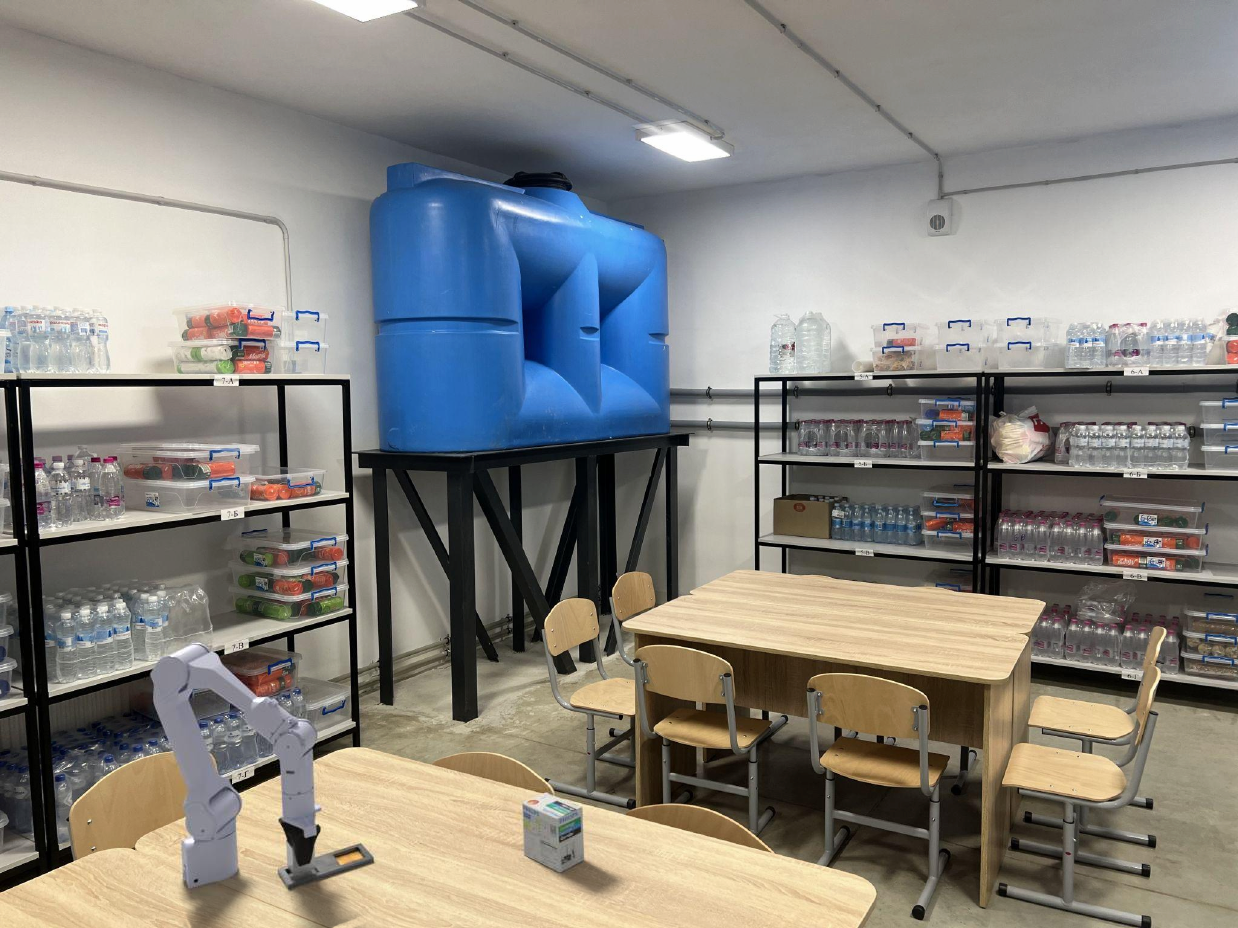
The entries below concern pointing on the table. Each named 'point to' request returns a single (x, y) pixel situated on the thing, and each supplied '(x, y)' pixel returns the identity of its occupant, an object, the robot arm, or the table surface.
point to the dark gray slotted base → (328, 865)
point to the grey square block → (292, 860)
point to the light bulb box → (553, 831)
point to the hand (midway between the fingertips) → (300, 858)
